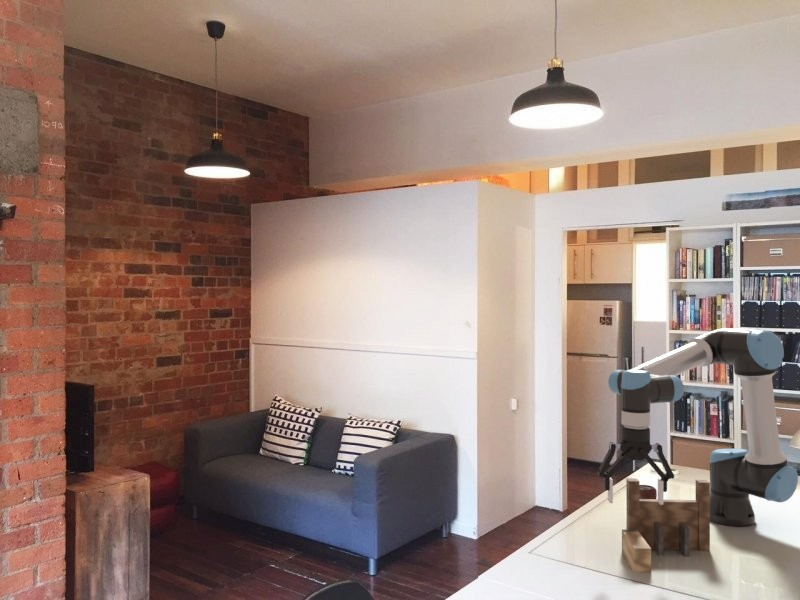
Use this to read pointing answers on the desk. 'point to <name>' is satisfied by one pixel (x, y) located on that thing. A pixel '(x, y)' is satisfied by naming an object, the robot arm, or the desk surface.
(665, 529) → the wooden u-shaped stand
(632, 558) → the tan rectangular block
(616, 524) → the desk surface
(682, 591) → the desk surface
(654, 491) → the can
